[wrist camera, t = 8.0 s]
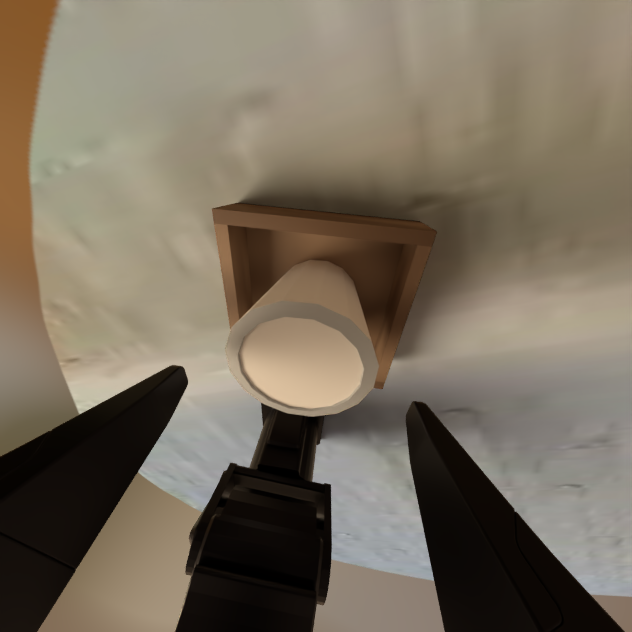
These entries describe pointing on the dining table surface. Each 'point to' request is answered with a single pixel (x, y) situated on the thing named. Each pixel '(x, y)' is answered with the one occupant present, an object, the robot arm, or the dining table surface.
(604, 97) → the dining table surface
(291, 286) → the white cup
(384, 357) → the walnut crate
